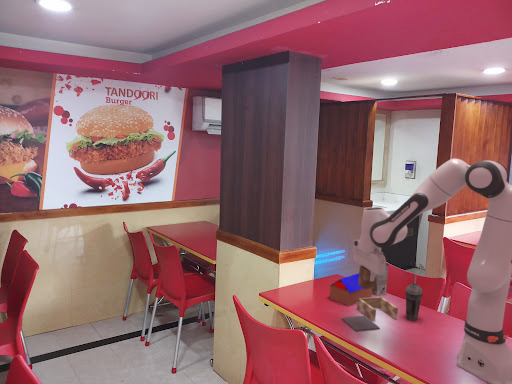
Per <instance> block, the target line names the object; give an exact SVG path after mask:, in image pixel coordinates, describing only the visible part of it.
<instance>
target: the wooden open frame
mask: <svg viewBox="0 0 512 384" xmlns="http://www.w3.org/2000/svg"><path fill="white" fill-rule="evenodd" d="M356 306H357V307H356V309H357V310H358V311H359V312H360V313H362V314H363V315H364V316H365V317H367V318H368V319H369V320H371V321H372V322H375V321H376V314H377V309H380V310H382V311H383V312H385V313H386V314H387V315H389V316H390V317H391V318H393V319H394V320H398V314H399V308H398V306H396V305H394V304H393V303H391V302H389V300H387V299H385V298H384V297H382V296H372V297H368V298H358V303H356Z"/></svg>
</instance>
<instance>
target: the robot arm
mask: <svg viewBox="0 0 512 384" xmlns="http://www.w3.org/2000/svg"><path fill="white" fill-rule="evenodd" d="M508 180H509V172H508V169H507V168H506V166H504V165H503V164H502V163H501V162H498V161H493V160H491V159H490V160H480V161H476V162H474V163H472V164H471V165H469V164H468V163H467V162H465V161H464V160H462V159H459V158H456V157H455V158H450V159H449V160H447V161H446V162H444V163H443V164H441V165H440V166H439V167H437V168H436V169H435V170H434V171H433V172H432V173H430V174H429V175H428V176H427V178H425V179H424V181H423V182H422V183H421V184H420V185H419V186H418V187H417V189H416V190H415V191H414V192H413V193H412V194H411V195H410V196H409V198H407V200H406V201H404V203H403V204H402V205H401V206H400V207H399V208H397V209H396V210H395V211H394V212H392V213H391V214H389V213H388V212H387V211H386V210H385V209H384V208H382V207H378V206H377V207H369V208H366V209H364V210H363V213H362V217H361V223H360V229H361V230H360V231H361V232H360V233H361V234H360V236H359V239H354V240H353V242H352V245H353V248H352V258H353V262H355V263H357V264H359V267H360V266H363V267H365V268H367V269H368V270H370V271H371V272H370V273H371V275H370V276H369V281H374V277H375V276H376V275H384V274H385V272H386V263H387V259H386V257H385V255H384V252H383V251H382V249H388V248H390V247H391V246H392V245H395V244H398V243H400V242H402V241H403V240H405V239H406V237H407V236H408V231H409V228H408V226H407V225H408V224H409V223H411V222H412V221H414V219H415V218H417V217H418V216H419V215H422V214H423V213H426V212H428V211H431V210H434V209H437V208H438V207H440V206H441V207H442V205H444V204H445V203H447V202H448V201H450V200H452V198H453V197H454V196H456V194H457V193H459V191H461V190H462V189H464V188H466V187H468V188H469V190H471V191H473V192H474V193H476V194H479V195H480V196H482V197H484V198H486V199H488V208H487V211H486V215H485V217H484V221H483V225H482V230H481V234H480V237H479V239H478V242H477V244H476V246H475V249H474V252H473V255H472V259H471V261H470V263H469V267H468V269H467V274H466V280H467V283H468V284H469V285H470V287H471V288H472V289H471V293H470V295H469V298H468V305H467V314H466V320H465V321H464V325H463V327H464V328H463V331H464V335H463V339H462V343H461V347H460V350H459V352H458V353H457V357H456V358H457V362H456V365H457V366H458V367H459V368H461V369H462V370H465V371H466V372H468V373H470V374H472V375H474V376H475V377H477V378H479V379H481V380H483V381H485V382H486V383H488V384H512V349H511V348H510V347H509V345H508V343H507V342H506V341H507V339H509V337H510V335H505V331H504V328H503V324H504V317H505V308H506V304H507V299H508V294H509V290H510V285H511V282H512V281H511V279H512V184H511V183H509V181H508Z"/></svg>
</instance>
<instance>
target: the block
mask: <svg viewBox="0 0 512 384" xmlns="http://www.w3.org/2000/svg"><path fill="white" fill-rule="evenodd" d="M370 272H371V271H370V270H368V269H367V268H365V267H363V266H360V265H359V270H358V273H359V279H358V285H359V286H361V287H362V288H363V289H374V288H375V282H376V276H375V277H374V281H369V276H370V275H371V273H370Z"/></svg>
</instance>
